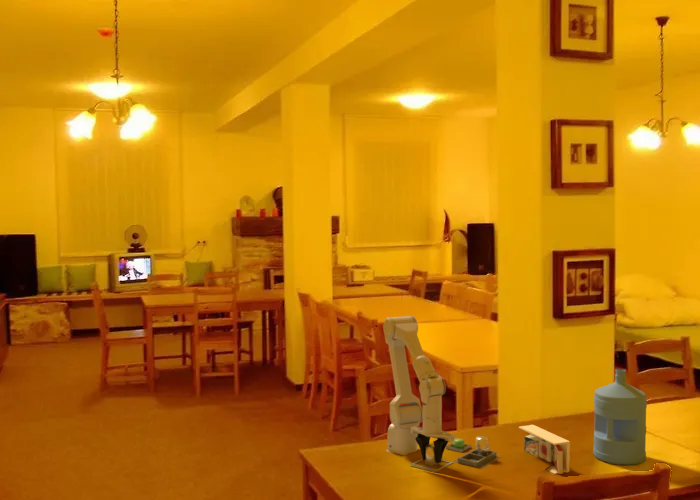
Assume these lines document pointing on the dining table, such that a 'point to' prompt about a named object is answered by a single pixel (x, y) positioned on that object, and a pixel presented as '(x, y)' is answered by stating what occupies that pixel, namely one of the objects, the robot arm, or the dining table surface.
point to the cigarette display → (548, 448)
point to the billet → (430, 455)
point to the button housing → (459, 448)
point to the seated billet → (482, 445)
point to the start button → (458, 443)
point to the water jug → (620, 422)
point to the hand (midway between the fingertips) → (431, 460)
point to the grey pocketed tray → (477, 459)
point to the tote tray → (429, 468)
